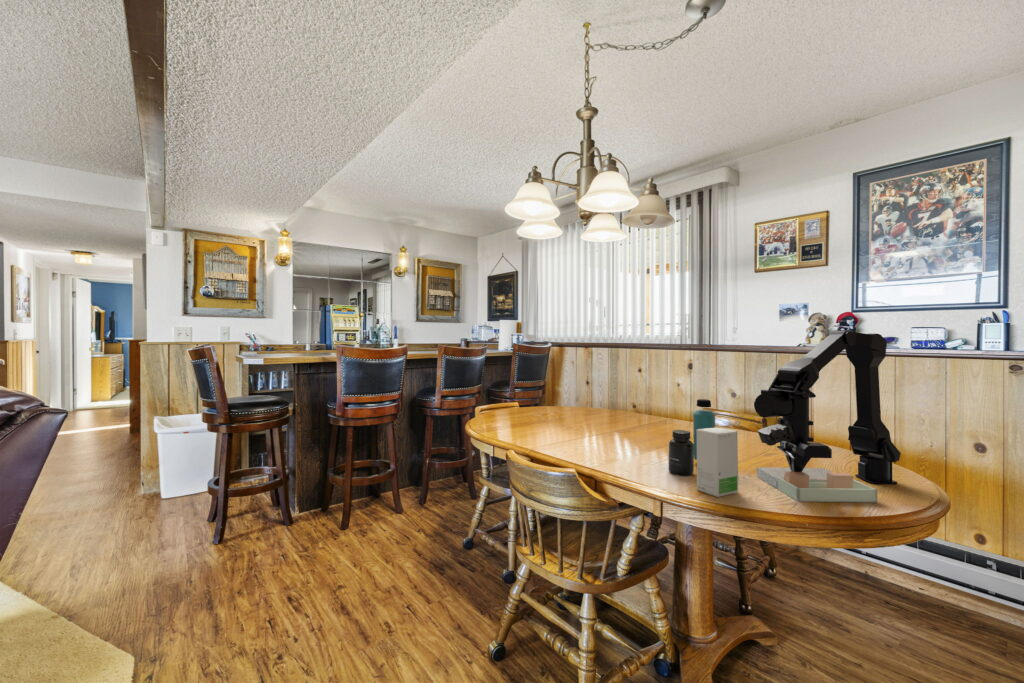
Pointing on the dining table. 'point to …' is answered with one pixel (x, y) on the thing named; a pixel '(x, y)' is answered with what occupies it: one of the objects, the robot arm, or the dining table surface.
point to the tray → (828, 492)
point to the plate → (772, 473)
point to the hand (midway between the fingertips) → (795, 476)
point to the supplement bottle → (681, 454)
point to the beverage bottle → (702, 420)
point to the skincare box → (717, 461)
